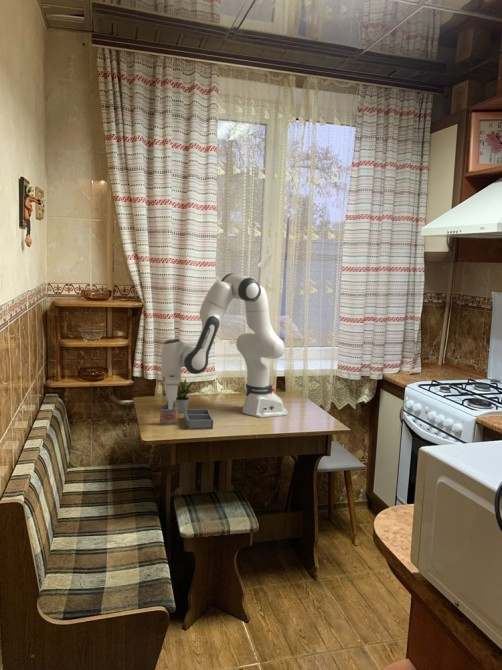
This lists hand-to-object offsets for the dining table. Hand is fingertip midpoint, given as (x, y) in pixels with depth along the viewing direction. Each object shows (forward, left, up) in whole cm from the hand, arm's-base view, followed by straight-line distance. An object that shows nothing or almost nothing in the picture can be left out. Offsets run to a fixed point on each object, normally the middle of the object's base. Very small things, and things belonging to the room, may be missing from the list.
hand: (169, 405), depth 235 cm
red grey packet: (0, 0, -9) cm, 9 cm away
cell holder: (-13, -1, -9) cm, 16 cm away
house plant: (-8, -19, -9) cm, 22 cm away
